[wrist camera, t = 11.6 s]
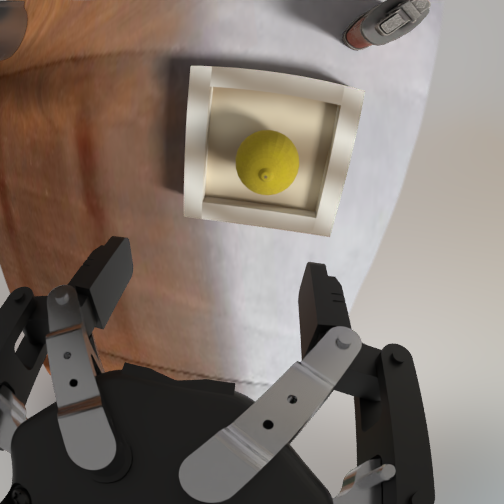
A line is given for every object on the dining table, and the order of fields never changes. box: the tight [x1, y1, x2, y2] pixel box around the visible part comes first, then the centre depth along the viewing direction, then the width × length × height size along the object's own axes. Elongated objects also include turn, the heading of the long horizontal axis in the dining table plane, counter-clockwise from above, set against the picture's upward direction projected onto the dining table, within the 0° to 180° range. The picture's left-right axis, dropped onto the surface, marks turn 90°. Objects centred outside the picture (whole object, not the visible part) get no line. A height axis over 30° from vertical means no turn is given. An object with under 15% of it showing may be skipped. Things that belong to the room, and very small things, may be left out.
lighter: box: [343, 0, 431, 51], centre depth 18 cm, size 8×3×10 cm, turn 136°
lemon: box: [235, 130, 299, 195], centre depth 25 cm, size 6×6×8 cm
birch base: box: [184, 66, 365, 237], centre depth 29 cm, size 16×16×6 cm
